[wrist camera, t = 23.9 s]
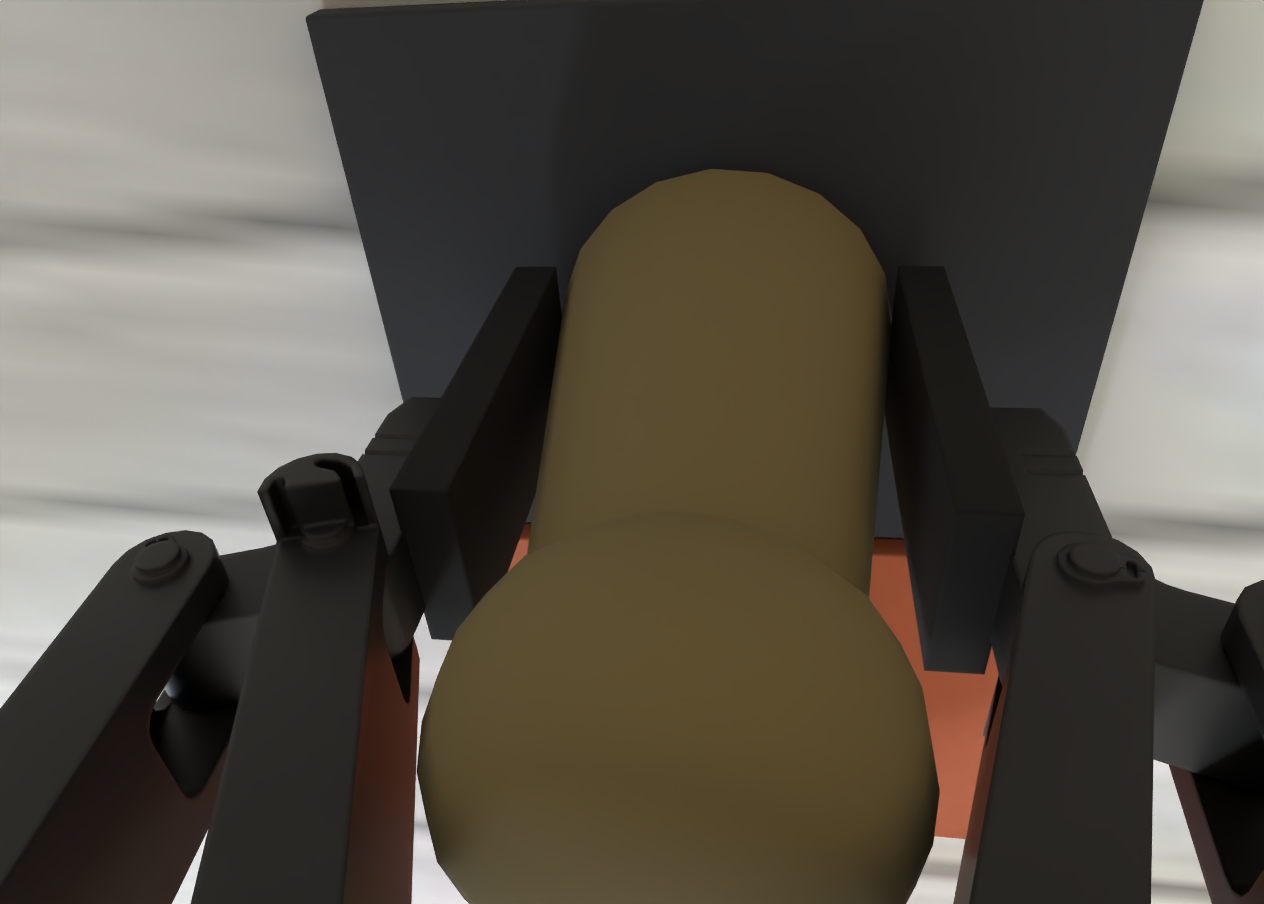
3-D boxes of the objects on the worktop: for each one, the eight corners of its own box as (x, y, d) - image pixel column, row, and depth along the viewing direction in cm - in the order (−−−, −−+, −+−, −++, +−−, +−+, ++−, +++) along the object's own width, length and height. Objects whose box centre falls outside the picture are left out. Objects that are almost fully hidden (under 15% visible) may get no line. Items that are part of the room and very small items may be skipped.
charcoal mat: (439, 503, 22) (432, 519, 21) (317, 9, 15) (303, 16, 15) (1045, 527, 20) (1052, 545, 19) (1198, -34, 13) (1213, -27, 13)
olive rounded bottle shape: (830, 109, 14) (900, 633, 5) (930, 409, 17) (1083, 1064, 8) (505, 245, 16) (178, 777, 7) (645, 491, 19) (528, 1078, 10)
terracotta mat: (508, 781, 29) (503, 798, 28) (443, 518, 22) (435, 534, 22) (965, 821, 26) (968, 840, 26) (1040, 544, 20) (1047, 562, 20)
